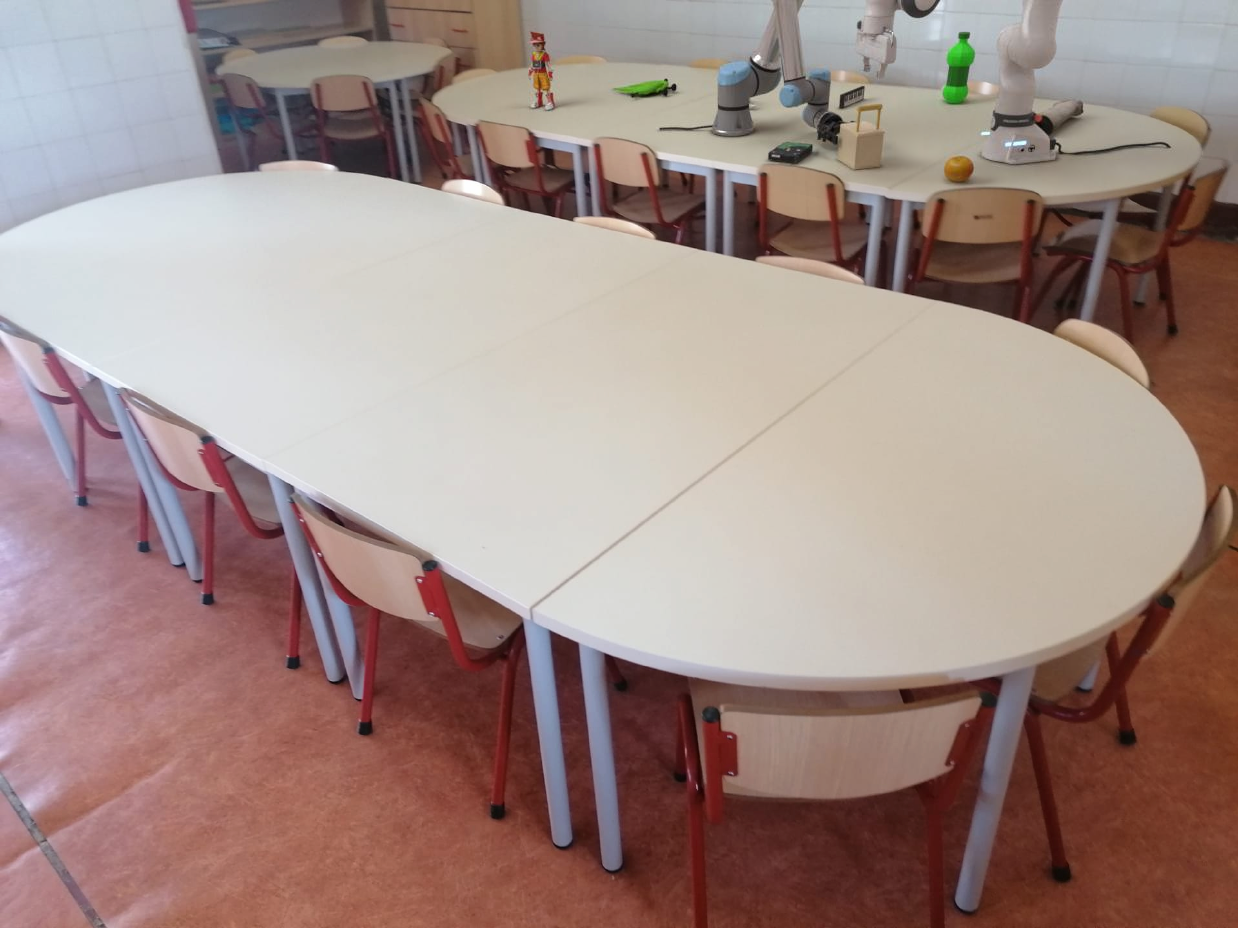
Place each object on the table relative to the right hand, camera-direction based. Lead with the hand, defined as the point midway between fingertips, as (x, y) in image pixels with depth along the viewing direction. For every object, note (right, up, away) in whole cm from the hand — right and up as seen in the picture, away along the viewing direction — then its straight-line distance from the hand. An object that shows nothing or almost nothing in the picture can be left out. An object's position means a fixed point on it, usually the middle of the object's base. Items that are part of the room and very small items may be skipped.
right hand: (873, 74), depth 278 cm
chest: (+1, -21, +19) cm, 28 cm away
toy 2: (-69, +44, +119) cm, 145 cm away
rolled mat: (+76, 0, +43) cm, 88 cm away
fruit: (+26, -33, -1) cm, 42 cm away
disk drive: (-20, -16, +29) cm, 38 cm away
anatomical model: (-30, +25, +89) cm, 97 cm away
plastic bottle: (+54, +22, +77) cm, 96 cm away
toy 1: (-112, +31, +105) cm, 156 cm away
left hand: (0, -13, +19) cm, 23 cm away
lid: (0, -13, +13) cm, 18 cm away
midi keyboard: (+15, +24, +83) cm, 88 cm away
